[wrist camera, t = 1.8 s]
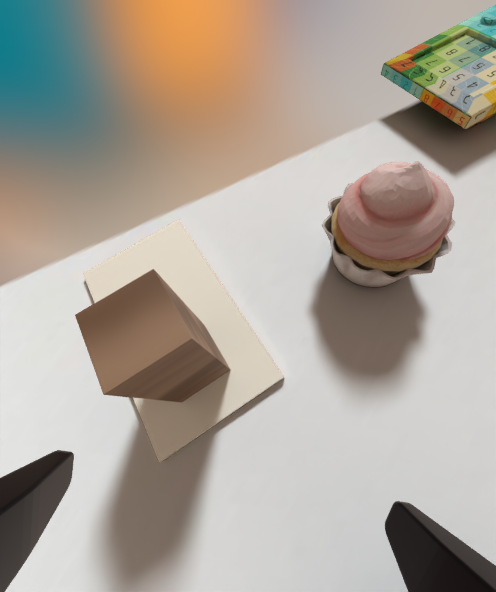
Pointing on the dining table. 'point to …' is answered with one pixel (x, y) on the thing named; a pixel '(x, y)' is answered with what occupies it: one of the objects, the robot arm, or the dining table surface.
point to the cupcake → (390, 224)
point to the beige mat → (217, 319)
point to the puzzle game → (453, 70)
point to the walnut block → (149, 343)
